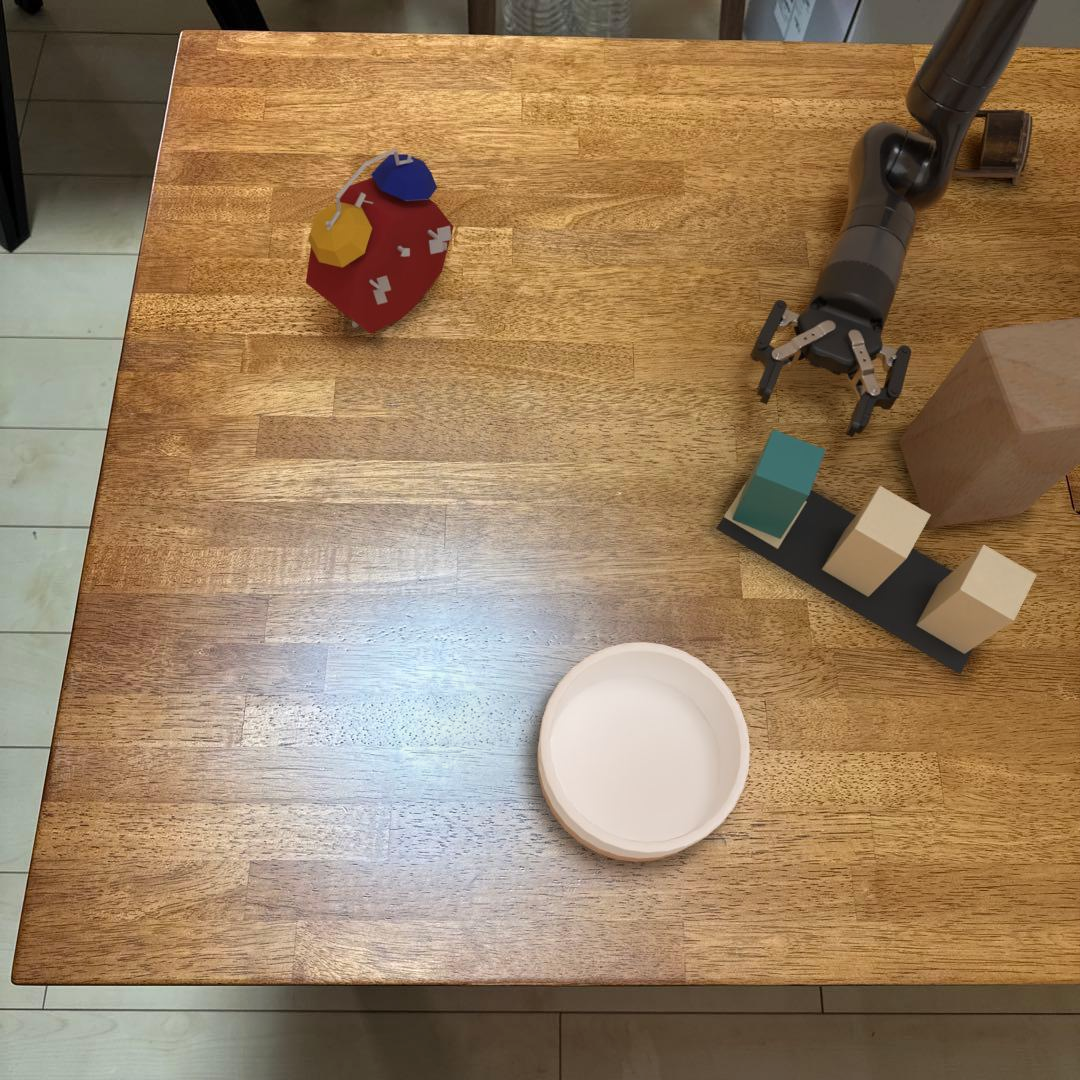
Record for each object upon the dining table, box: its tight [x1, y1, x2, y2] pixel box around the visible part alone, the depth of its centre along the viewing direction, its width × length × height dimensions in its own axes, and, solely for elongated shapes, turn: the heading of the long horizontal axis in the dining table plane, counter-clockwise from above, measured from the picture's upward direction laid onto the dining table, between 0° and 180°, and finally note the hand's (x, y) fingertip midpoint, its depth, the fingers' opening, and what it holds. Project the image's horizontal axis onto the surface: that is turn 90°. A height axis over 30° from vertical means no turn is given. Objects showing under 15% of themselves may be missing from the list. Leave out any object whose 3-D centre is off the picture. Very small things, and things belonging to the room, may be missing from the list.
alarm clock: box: [305, 147, 454, 335], centre depth 99 cm, size 15×9×20 cm, turn 139°
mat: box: [715, 481, 975, 675], centre depth 98 cm, size 26×9×1 cm, turn 57°
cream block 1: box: [822, 485, 931, 597], centre depth 93 cm, size 5×5×10 cm
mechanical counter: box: [915, 109, 1034, 186], centre depth 115 cm, size 7×13×10 cm
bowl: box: [536, 641, 751, 863], centre depth 86 cm, size 17×17×8 cm
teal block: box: [732, 429, 826, 539], centre depth 95 cm, size 5×5×10 cm
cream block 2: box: [916, 544, 1037, 654], centre depth 91 cm, size 5×5×10 cm
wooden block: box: [898, 317, 1080, 528], centre depth 93 cm, size 10×10×20 cm
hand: (808, 415), depth 95 cm, fingers open, 8 cm apart
